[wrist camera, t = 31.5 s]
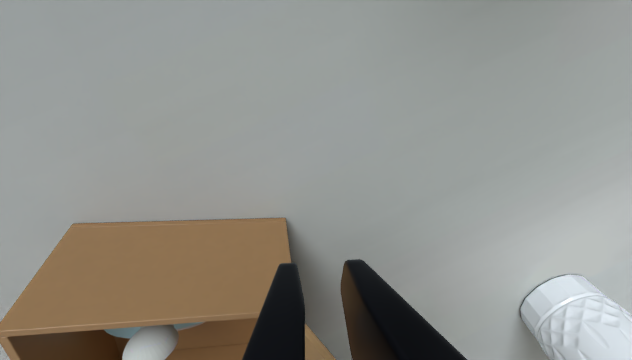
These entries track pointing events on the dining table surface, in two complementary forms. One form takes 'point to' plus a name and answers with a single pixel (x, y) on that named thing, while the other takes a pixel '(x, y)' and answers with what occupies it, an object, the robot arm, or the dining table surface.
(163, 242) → the carton
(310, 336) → the flap
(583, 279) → the white cup
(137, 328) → the pacifier
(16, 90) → the dining table surface
